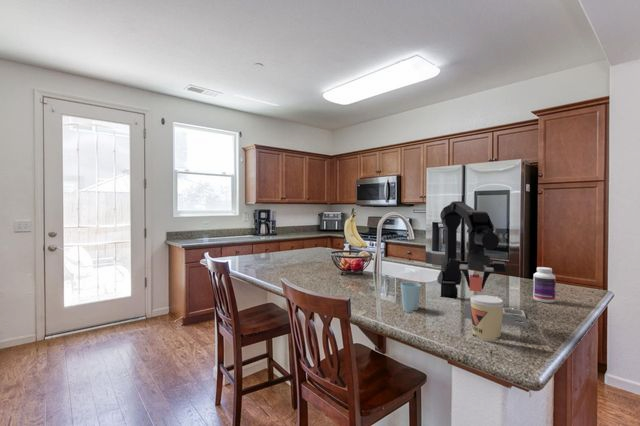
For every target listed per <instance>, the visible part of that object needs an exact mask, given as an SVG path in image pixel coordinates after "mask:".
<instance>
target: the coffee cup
mask: <svg viewBox="0 0 640 426" xmlns="http://www.w3.org/2000/svg"><path fill="white" fill-rule="evenodd" d="M497 297H498V296H495V297H493V296H491V295H485V294H476V295H475V294H474V295H472V296H471V298H470V304H471V314H472V319H471V325H472V326H471V328H472V329H471V330H472V333H474V334H472V336H473V337H474V338H475V339H477V340H481V341H484V342H499V341H500V340H501V338H500V337H501V334H502V326H503V325H502V324H503V323H502V315H503V308H504V306H505V303H504V301H503V298H502V299H501V298H500V297H498V298H497Z"/></svg>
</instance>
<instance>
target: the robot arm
mask: <svg viewBox="0 0 640 426" xmlns="http://www.w3.org/2000/svg"><path fill="white" fill-rule="evenodd" d="M439 216H440V219H441V221H440V222H441V224H442V226H443V227H444V229H445V230H444V231H445V233H444V234H445V235H444V236H445V237H444V239H445V241H444V261H443V263H442V265H441V267H440V272H439V273H438V276H437V278H436V279H437V283H438V284H439V285H440V298H447V299H453V300H456V299H457V298H458V297H459V296H458V295H459V293H458V292H459V289H458V287H457V286H461V282H462V278H463V276H464V277H465V281H466V283H467V286H468V288H469V289H470V273H469V272H470V270H469V269H471V270H473V269H475V270H483V275H482V290H484V288H485V284H487V283H486V282H487V281H488V277H489V276H490V275H491V274H494V272H497V273H498V272H499V273H506V272H507V265H506V263H505V262H504V261H496V260H495V261H494V260H493V261H492V263H491V256H490V255H487V254H486V249H487V250H494V249H496V248H497V247H498V246H499V243H500V239H499V237H498V235H497V234H496V233H494V224H493V222H492V220H491V217H490V215H489V214H488V212H487V211H484V210H477V209H474V208H472V207H471V206H470V205H468V204H466V202H465V201H461V200H460V201H454V200H453V201H451V203H450V204H448V205H446V206H444V207H443V208H442V210H441V212H440V215H439ZM462 219H464V224H465V225H466V227H467V230H466V233H468V235H467V236H468V237H467V260H466V261H465V260H464V261H463V260H461V258H457V253H458V252H457V251H458V249H457V248H458V247H457V244H458V243H457V242H458V241H457V240H458V238H457V237H458V234H457V233H458V232H457V230H458V228H459V227H460V225H461V224H462ZM462 273H463V275H462Z"/></svg>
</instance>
